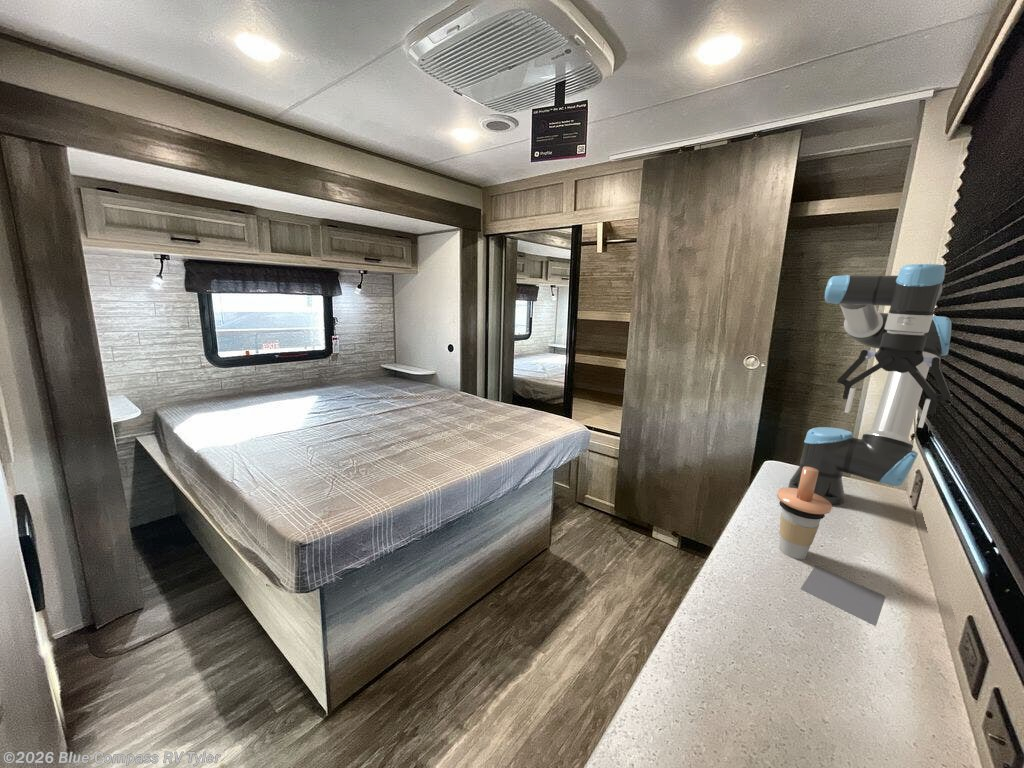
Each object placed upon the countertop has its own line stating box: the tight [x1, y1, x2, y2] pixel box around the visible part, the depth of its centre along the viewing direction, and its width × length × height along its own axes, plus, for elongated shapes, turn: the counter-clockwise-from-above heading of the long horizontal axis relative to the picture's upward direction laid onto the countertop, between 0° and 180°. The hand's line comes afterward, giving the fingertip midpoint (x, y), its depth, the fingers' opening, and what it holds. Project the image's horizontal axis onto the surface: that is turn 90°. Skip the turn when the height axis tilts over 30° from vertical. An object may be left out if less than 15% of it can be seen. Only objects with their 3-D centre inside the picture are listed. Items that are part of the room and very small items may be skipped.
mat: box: [800, 565, 886, 627], centre depth 90 cm, size 13×13×1 cm
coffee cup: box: [778, 500, 826, 560], centre depth 103 cm, size 9×9×15 cm
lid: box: [776, 466, 833, 515], centre depth 100 cm, size 11×11×9 cm
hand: (882, 418), depth 99 cm, fingers open, 13 cm apart
